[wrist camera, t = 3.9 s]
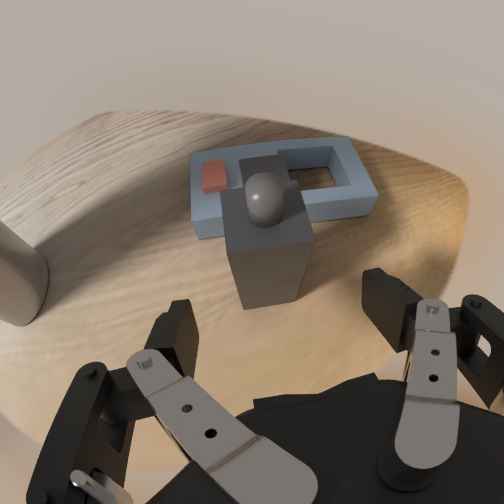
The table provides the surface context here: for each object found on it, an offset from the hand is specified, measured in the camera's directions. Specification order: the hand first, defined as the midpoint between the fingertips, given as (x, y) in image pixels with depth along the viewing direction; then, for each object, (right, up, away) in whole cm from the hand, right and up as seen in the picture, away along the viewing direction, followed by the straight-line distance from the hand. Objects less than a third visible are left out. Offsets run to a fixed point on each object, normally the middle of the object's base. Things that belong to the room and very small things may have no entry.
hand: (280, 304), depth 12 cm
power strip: (+1, +8, +14) cm, 16 cm away
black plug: (0, 0, +10) cm, 10 cm away
